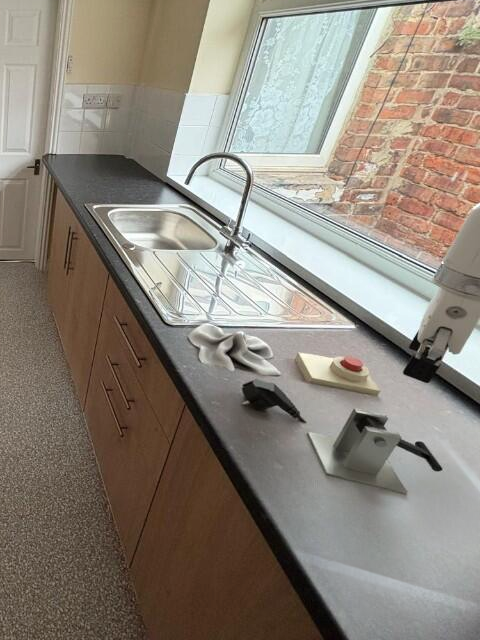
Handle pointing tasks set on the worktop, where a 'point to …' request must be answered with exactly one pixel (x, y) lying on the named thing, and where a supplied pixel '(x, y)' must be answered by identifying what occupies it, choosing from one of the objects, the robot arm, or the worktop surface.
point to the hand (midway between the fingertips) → (417, 364)
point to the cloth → (232, 350)
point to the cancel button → (352, 363)
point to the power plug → (268, 397)
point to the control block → (335, 374)
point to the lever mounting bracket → (360, 452)
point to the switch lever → (405, 444)
